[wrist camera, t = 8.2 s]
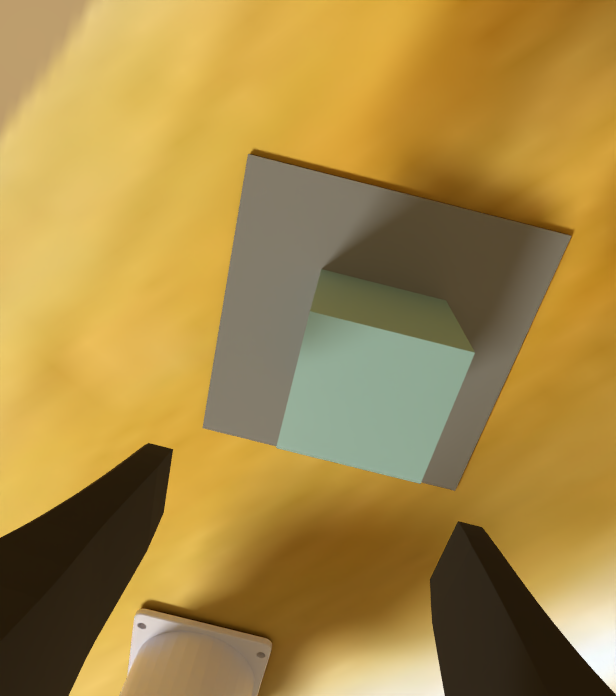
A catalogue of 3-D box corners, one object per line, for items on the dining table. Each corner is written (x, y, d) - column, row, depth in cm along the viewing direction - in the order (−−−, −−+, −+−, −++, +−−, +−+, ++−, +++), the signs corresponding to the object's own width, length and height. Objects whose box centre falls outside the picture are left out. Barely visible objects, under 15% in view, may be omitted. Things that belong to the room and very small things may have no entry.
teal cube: (406, 407, 21) (420, 483, 16) (294, 379, 21) (276, 447, 16) (446, 300, 19) (475, 352, 14) (321, 269, 19) (310, 311, 14)
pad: (454, 487, 22) (455, 490, 22) (204, 425, 22) (202, 427, 22) (569, 235, 18) (571, 236, 17) (249, 153, 17) (248, 154, 17)
